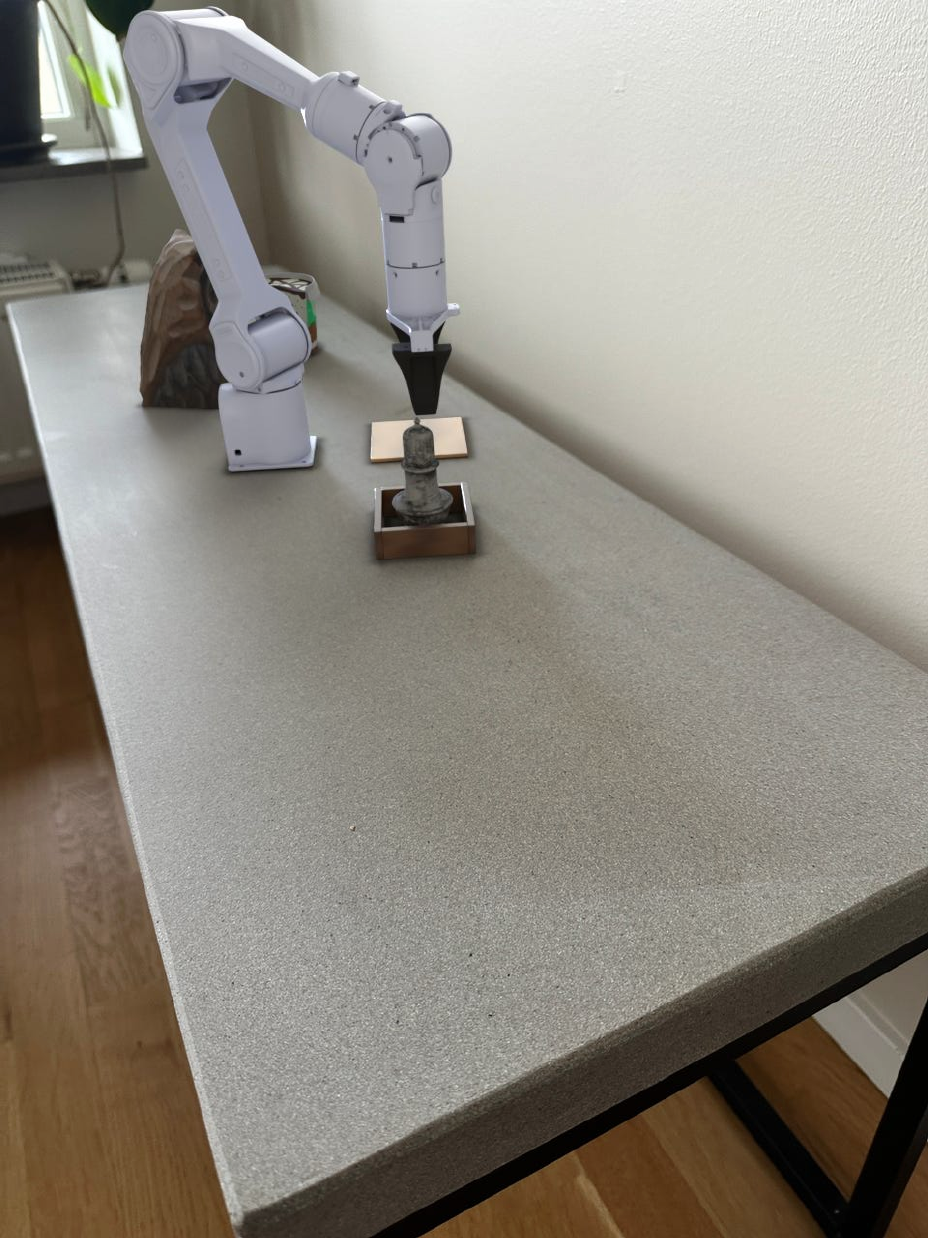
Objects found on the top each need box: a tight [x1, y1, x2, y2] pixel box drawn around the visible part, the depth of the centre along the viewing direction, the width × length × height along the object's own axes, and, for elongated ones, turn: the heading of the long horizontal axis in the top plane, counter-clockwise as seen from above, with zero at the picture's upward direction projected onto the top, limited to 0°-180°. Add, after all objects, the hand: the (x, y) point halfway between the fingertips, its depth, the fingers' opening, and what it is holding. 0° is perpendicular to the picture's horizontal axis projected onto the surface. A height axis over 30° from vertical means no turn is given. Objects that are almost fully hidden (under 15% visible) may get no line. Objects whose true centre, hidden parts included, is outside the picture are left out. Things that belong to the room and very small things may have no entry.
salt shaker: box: [392, 416, 453, 527], centre depth 91 cm, size 6×6×12 cm
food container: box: [254, 272, 321, 356], centre depth 143 cm, size 12×6×10 cm, turn 58°
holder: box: [373, 481, 477, 561], centre depth 94 cm, size 9×9×3 cm
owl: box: [139, 228, 229, 410], centre depth 124 cm, size 13×13×20 cm
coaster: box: [370, 416, 469, 463], centre depth 113 cm, size 11×11×1 cm
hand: (423, 399), depth 98 cm, fingers open, 7 cm apart
